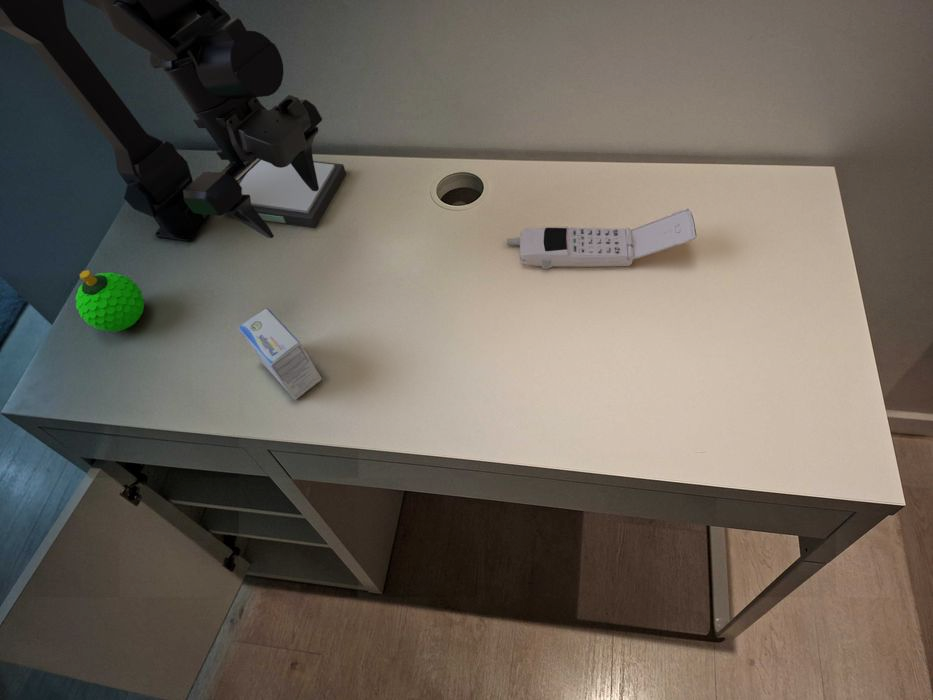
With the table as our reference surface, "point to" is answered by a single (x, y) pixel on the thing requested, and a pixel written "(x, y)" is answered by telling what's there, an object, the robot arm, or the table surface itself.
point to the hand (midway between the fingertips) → (294, 213)
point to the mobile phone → (602, 242)
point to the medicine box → (280, 353)
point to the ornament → (109, 301)
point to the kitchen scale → (291, 192)
